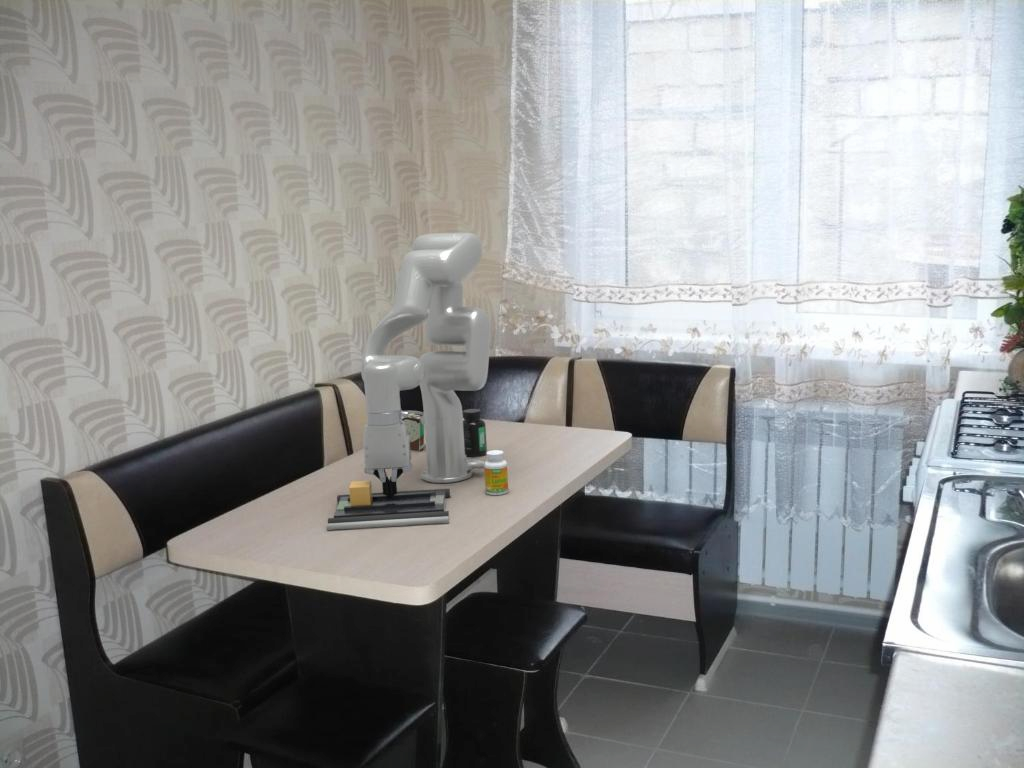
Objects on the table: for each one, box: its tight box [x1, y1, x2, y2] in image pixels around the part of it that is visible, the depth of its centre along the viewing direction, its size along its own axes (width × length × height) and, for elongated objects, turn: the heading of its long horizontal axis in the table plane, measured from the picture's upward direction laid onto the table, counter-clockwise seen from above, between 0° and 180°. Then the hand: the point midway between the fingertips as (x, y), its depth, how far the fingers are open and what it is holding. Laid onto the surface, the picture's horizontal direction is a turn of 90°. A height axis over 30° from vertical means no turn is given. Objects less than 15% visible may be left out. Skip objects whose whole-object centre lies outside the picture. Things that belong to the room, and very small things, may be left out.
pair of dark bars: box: [326, 487, 451, 531], centre depth 237 cm, size 26×20×2 cm
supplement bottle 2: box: [483, 449, 509, 496], centre depth 247 cm, size 5×5×10 cm
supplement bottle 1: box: [462, 408, 488, 458], centre depth 282 cm, size 7×7×12 cm
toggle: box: [348, 480, 373, 506], centre depth 237 cm, size 4×5×4 cm
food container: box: [402, 410, 425, 453], centre depth 293 cm, size 12×6×10 cm, turn 58°
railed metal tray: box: [333, 491, 447, 518], centre depth 237 cm, size 24×14×3 cm, turn 92°
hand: (390, 497), depth 237 cm, fingers closed
